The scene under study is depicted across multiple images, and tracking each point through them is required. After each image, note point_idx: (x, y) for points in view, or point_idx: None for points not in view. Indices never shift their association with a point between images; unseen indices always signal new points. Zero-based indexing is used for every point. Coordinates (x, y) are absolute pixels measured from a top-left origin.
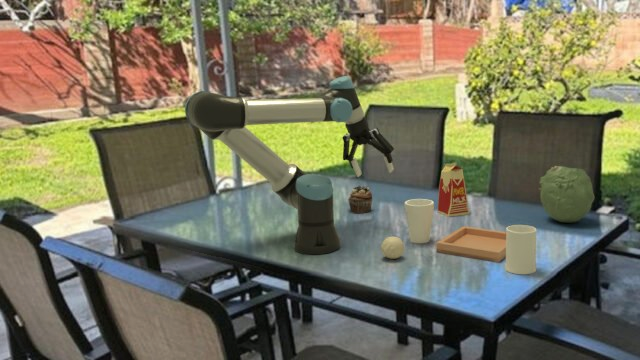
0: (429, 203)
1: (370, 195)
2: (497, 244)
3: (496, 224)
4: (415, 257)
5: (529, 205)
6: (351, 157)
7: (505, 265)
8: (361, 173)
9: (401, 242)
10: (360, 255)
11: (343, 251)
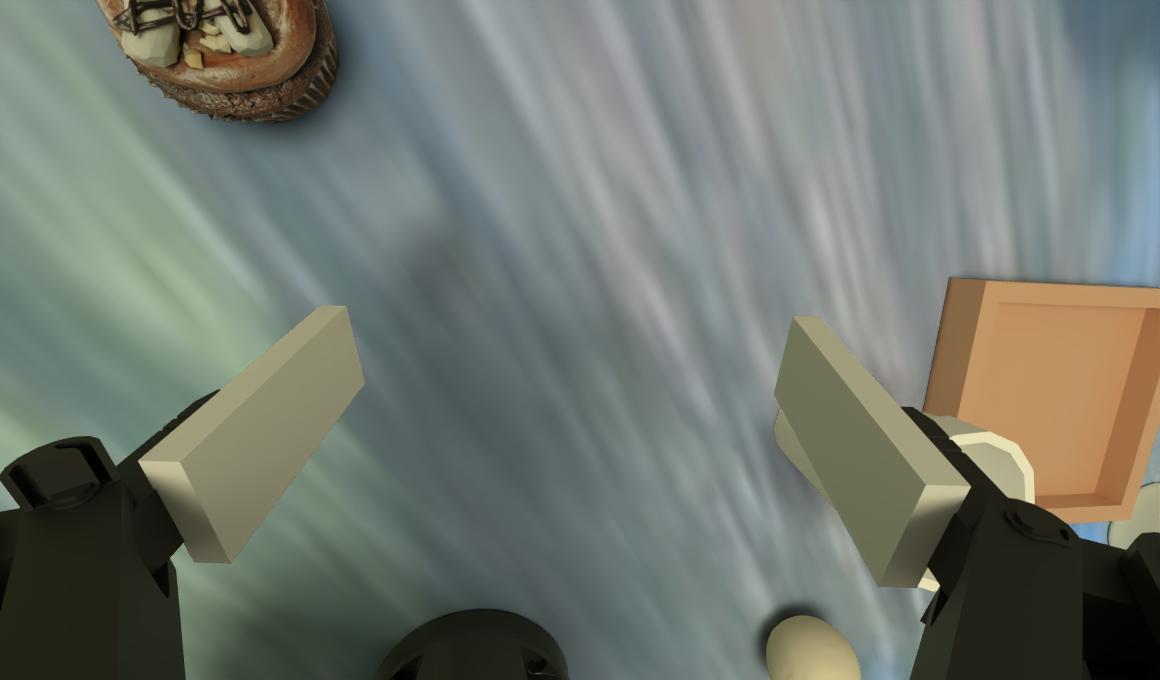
0: (987, 444)
1: (310, 4)
2: (1092, 373)
3: (1055, 53)
4: (853, 590)
5: None
6: (178, 628)
7: (1121, 546)
8: (346, 314)
9: (860, 676)
10: (674, 670)
11: (595, 671)
